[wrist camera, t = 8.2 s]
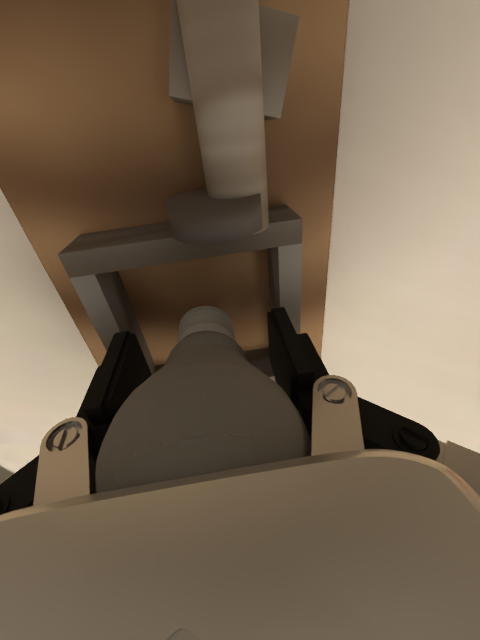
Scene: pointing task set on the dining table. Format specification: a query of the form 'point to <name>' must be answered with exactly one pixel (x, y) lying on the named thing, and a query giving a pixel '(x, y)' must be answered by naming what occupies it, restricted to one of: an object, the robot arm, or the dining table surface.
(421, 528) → the robot arm
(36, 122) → the shaft bench
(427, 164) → the dining table surface
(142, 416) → the light bulb
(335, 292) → the dining table surface
